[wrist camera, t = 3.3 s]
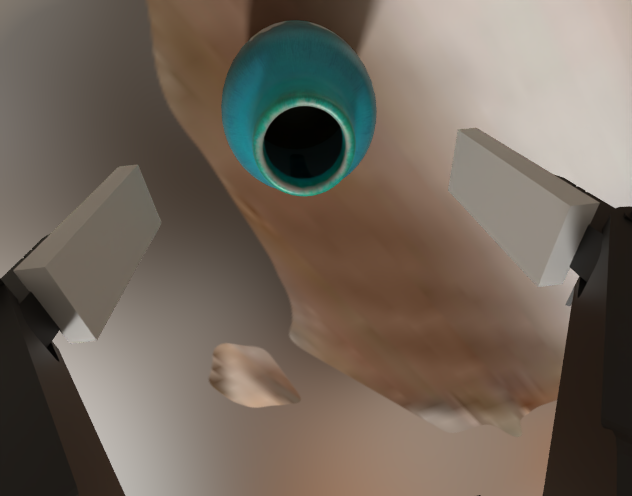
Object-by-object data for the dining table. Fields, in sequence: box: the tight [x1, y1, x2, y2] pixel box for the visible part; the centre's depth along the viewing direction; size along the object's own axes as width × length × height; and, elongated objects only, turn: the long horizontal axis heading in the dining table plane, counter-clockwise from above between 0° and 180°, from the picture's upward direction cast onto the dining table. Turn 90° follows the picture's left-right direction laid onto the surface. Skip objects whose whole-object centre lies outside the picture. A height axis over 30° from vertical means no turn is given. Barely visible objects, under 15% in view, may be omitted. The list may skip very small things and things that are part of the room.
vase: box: [221, 20, 376, 196], centre depth 25 cm, size 11×11×19 cm
